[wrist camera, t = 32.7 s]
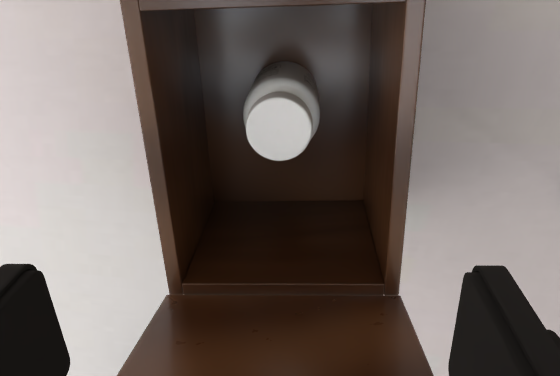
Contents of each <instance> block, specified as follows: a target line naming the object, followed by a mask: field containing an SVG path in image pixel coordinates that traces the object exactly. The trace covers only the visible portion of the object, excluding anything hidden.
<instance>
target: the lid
mask: <svg viewBox="0 0 560 376" xmlns="http://www.w3.org/2000/svg"><path fill="white" fill-rule="evenodd" d="M117 376H434V375H433V373H432V371H431V368H430V366H429V363H428V361H427V359H426V356H425V354H424V351H423V349H422V347H421V344H420V342H419V339H418V337H417V335H416V332H415V330H414V327H413V325H412V323H411V320H410V318H409V315H408V313H407V311H406V308H405V306H404V303H403V301H402V299H401V296H358V295H166V297H165V299H164V300H163V302H162V303H161V305H160V307H159V308H158V310H157V312H156V313H155V315H154V316H153V318H152V320H151V321H150V323H149V325H148V326H147V328H146V329H145V331H144V333H143V334H142V336H141V337H140V339H139V341H138V342H137V344H136V346H135V347H134V349H133V350H132V352H131V354H130V355H129V357H128V358H127V360H126V362H125V363H124V365H123V367H122V368H121V370H120V371H119V373H118V375H117Z"/></svg>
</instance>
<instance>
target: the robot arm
mask: <svg viewBox="0 0 560 376" xmlns="http://www.w3.org/2000/svg"><path fill="white" fill-rule="evenodd" d="M69 367H70V357H69V353H68V350H67V347H66V344H65V341H64V338H63V335H62V331H61V328H60V325H59V322H58V319H57V316H56V313H55V309H54V306H53V303H52V300H51V297H50V294H49V291H48V287H47V284H46V281H45V278H44V275H43V273H42V272H41V271H37V269H36V267H35V266H33V265H31V264H5V265H2V266H1V267H0V376H66V375H67V373H68V371H69ZM449 376H560V338H559V337H558V335H557V334H556V333H555V332H553V331H551V330H546V328H545V327H544V325H543V324H542V322H541V321H540V319H539V318H538V316H537V315H536V313H535V311H534V310H533V308H532V307H531V305H530V304H529V302H528V301H527V299H526V297H525V296H524V294H523V293H522V291H521V290H520V288H519V287H518V285H517V284H516V282H515V280H514V279H513V277H512V276H511V274H510V273H509V271H508V270H507V269H506V267H504V266H475V267H474V268H473V270H472V272H467V273H465V275H464V278H463V283H462V289H461V295H460V301H459V306H458V312H457V318H456V324H455V330H454V336H453V341H452V347H451V353H450V359H449Z"/></svg>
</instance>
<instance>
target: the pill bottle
mask: <svg viewBox="0 0 560 376" xmlns="http://www.w3.org/2000/svg"><path fill="white" fill-rule="evenodd" d="M243 119H244V124H245V128H246V135H247V138H248V141H249V143H250V145H251V146H252V148H253V149H254V150H255V151H256V152H257V153H258V154H260V155H261V156H263V157H265V158H267V159H270V160H275V161H283V160H289V159H292V158H294V157H296V156H298V155H299V154H300V153H302V152H303V151H304V150H305V148H306V147H307V145H308V144H309V142H310V140H311V139H312V137H313V136H314V134H315V133H316V131H317V128H318V125H319V120H320V107H319V96H318V89H317V85H316V82H315V80H314V78H313V76H312V75H311V74H310V72H309V71H308V70H306V69H305V68H304V67H302V66H301V65H299V64H296V63H293V62H288V61H282V62H276V63H273V64H271V65H269V66H267V67H265V68H264V69H263V70H262V71H261V72H260V73H259V74H258V75H257V77H256V79H255V80H254V82H253V84H252V87H251V89H250V92H249V94H248V96H247V98H246V101H245V104H244V109H243Z"/></svg>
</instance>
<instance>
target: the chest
mask: <svg viewBox="0 0 560 376" xmlns="http://www.w3.org/2000/svg"><path fill="white" fill-rule="evenodd" d="M120 3H121V9H122V15H123V21H124V27H125V33H126V39H127V45H128V51H129V57H130V63H131V69H132V74H133V80H134V86H135V92H136V98H137V104H138V110H139V116H140V122H141V128H142V134H143V140H144V146H145V151H146V157H147V163H148V169H149V175H150V181H151V187H152V193H153V199H154V205H155V211H156V217H157V223H158V229H159V234H160V240H161V246H162V252H163V258H164V264H165V270H166V276H167V282H168V288H169V294H170V295H183V294H184V295H358V296H383V295H385V296H398V294H399V284H400V274H401V263H402V252H403V241H404V231H405V220H406V209H407V198H408V188H409V177H410V166H411V155H412V145H413V134H414V123H415V112H416V102H417V91H418V80H419V69H420V59H421V48H422V37H423V26H424V16H425V5H426V0H120ZM282 61H288V62H293V63H296V64H299V65H301V66H302V67H304V68H305V69H306V70H308V71H309V72H310V74H311V75H312V76H313V78H314V80H315V82H316V85H317V89H318V96H319V107H320V120H319V125H318V128H317V131H316V133H315V134H314V136H313V137H312V139H311V140H310V142H309V144H308V145H307V147H306V148H305V150H304V151H303V152H302V153H300V154H299V155H298V156H296V157H294V158H292V159H289V160H283V161H275V160H270V159H267V158H265V157H263V156H261V155H260V154H258V153H257V152H256V151H255V150H254V149H253V148H252V146H251V145H250V143H249V141H248V138H247V135H246V128H245V124H244V119H243V109H244V104H245V101H246V98H247V96H248V94H249V92H250V89H251V87H252V84H253V82H254V80H255V79H256V77H257V75H258V74H259V73H260V72H261V71H262V70H263V69H264V68H265V67H267V66H269V65H271V64H273V63H276V62H282Z"/></svg>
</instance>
